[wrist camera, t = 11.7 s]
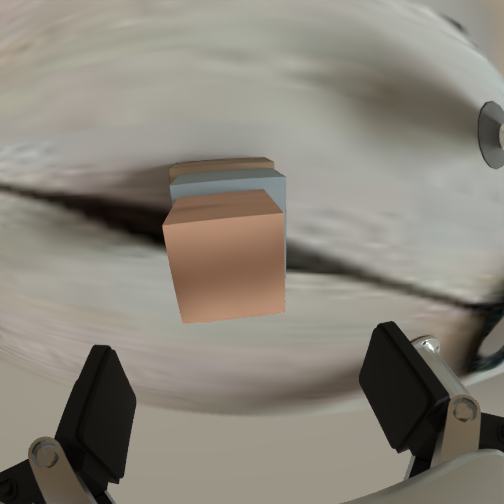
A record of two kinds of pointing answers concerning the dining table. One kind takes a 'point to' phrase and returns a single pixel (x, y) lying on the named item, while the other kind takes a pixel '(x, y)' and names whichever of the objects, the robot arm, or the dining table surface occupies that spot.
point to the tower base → (218, 166)
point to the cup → (492, 134)
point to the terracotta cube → (226, 255)
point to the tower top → (233, 186)
